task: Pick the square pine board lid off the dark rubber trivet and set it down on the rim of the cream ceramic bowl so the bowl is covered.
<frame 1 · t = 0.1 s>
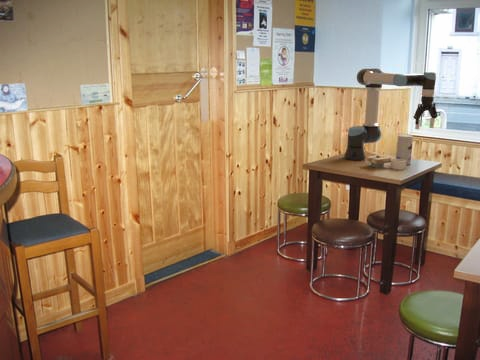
hand: (424, 128, 336), 28 cm above the table, fingers open, 13 cm apart
lid: (377, 161, 350), point 3 cm above the table, touching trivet
container: (402, 163, 362), on the table
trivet: (377, 166, 351), on the table
bowl: (397, 168, 347), on the table
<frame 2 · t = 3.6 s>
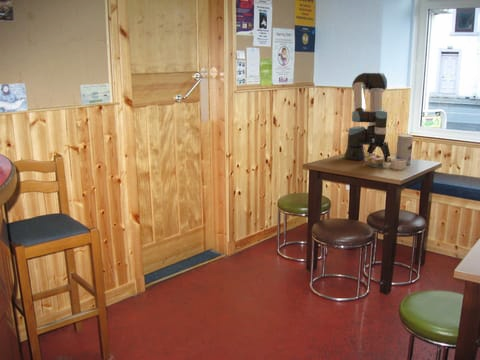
hand: (377, 164, 351), 1 cm above the table, fingers closed on lid, 12 cm apart
lid: (377, 161, 350), point 4 cm above the table, touching gripper, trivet
everything else where it was.
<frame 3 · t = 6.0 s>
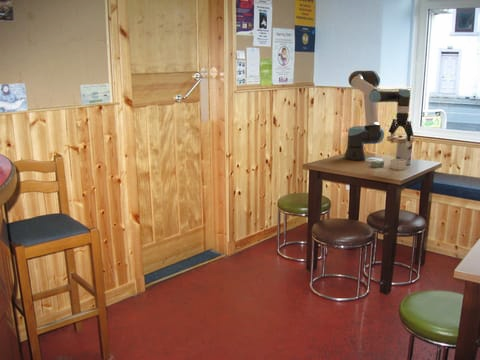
hand: (399, 144, 343), 16 cm above the table, fingers closed on lid, 12 cm apart
lid: (399, 141, 342), point 18 cm above the table, touching gripper
everything else where it was.
when the fingers open (5 cm above the table, at t = 8.6 s): lid drops 2 cm, resting on bowl.
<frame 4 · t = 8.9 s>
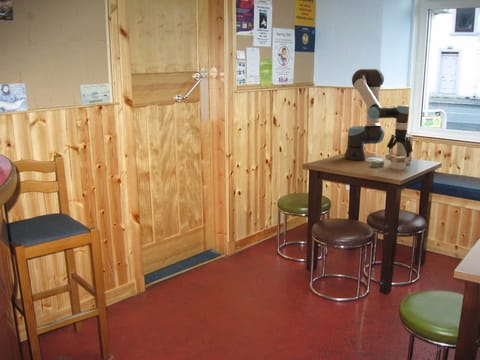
hand: (398, 159, 346), 6 cm above the table, fingers open, 13 cm apart
lid: (398, 160, 346), point 5 cm above the table, touching bowl
everything else where it was.
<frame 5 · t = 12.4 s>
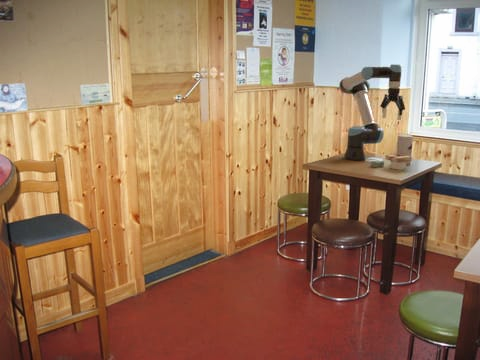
hand: (391, 119, 352), 32 cm above the table, fingers open, 13 cm apart
nothing on the table moved.
at the end: lid 0.1 cm off-centre on the bowl, point 5.5 cm above the bowl's base; lid tilted 0°; the gripper is holding nothing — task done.
